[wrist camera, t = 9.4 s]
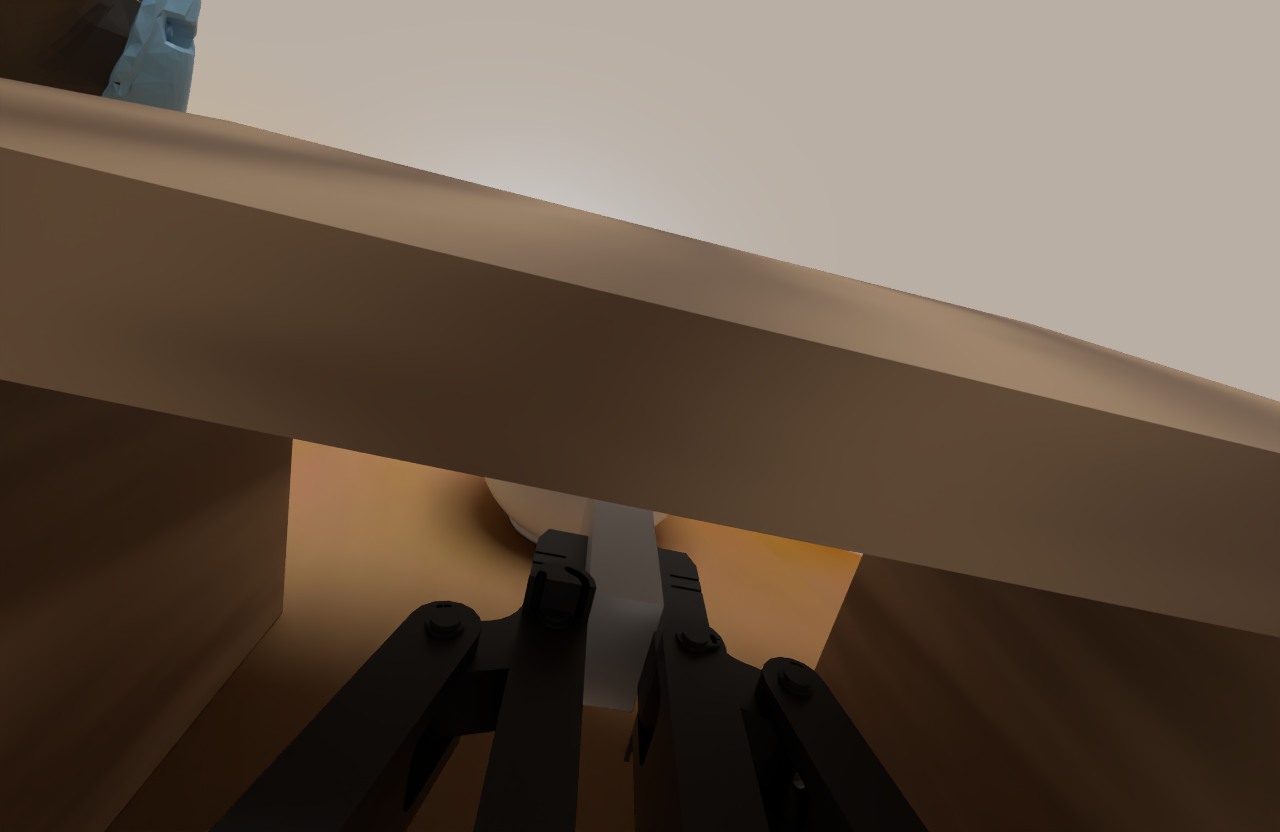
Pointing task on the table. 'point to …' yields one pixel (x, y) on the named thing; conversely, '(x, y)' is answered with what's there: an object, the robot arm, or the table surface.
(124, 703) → the tunnel
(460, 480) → the table surface
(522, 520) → the lidded jar
